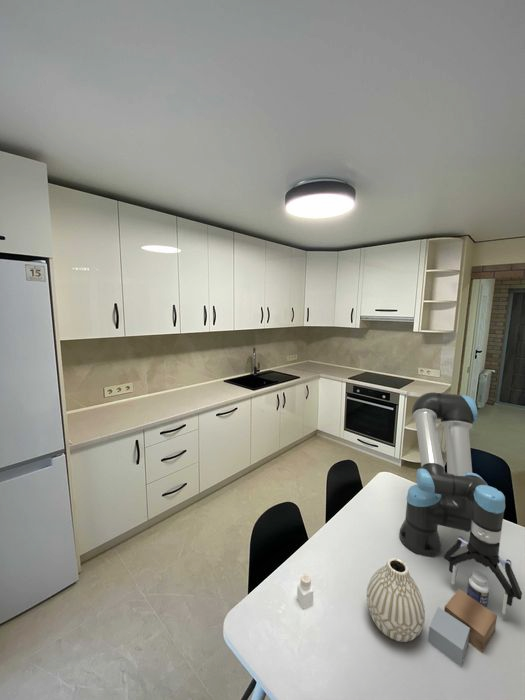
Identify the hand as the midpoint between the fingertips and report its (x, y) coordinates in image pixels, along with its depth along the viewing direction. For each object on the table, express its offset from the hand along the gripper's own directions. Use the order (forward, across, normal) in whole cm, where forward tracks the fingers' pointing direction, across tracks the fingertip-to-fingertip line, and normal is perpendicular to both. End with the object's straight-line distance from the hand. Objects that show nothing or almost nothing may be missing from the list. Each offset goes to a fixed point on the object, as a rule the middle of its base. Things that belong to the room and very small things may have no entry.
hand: (477, 595), depth 94 cm
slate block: (+3, -3, -21) cm, 21 cm away
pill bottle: (+3, 0, 0) cm, 3 cm away
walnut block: (+3, 0, -11) cm, 11 cm away
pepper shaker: (+3, -38, -42) cm, 57 cm away
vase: (+3, -16, -27) cm, 31 cm away
